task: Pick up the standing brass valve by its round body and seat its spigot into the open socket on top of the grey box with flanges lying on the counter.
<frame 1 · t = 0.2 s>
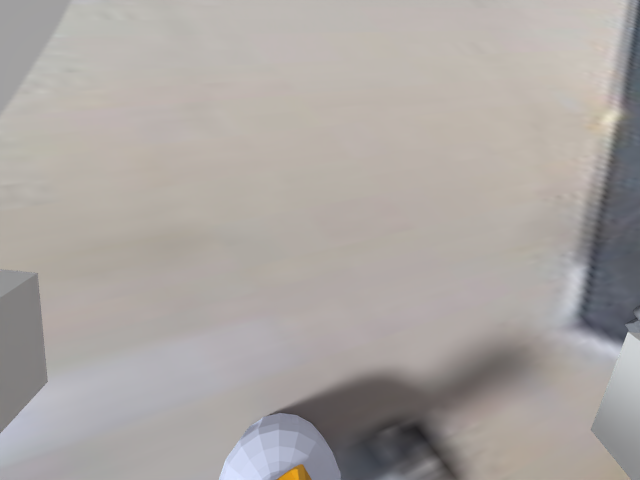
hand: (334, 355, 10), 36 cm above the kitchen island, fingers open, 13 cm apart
soap bottle: (281, 464, 42), on the kitchen island
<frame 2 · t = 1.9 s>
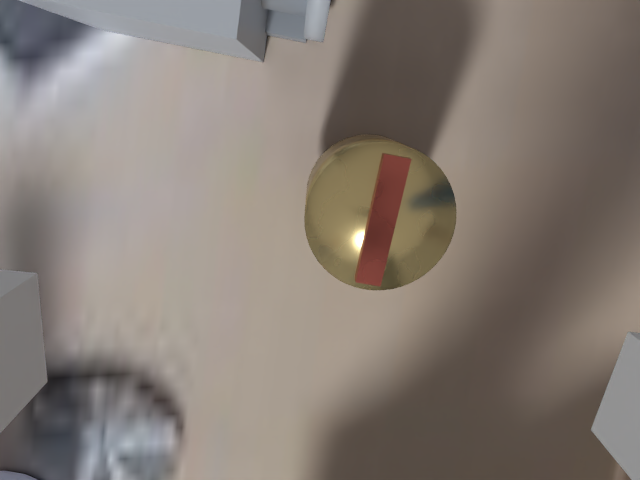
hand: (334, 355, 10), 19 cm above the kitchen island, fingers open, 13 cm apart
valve: (361, 187, 29), on the kitchen island
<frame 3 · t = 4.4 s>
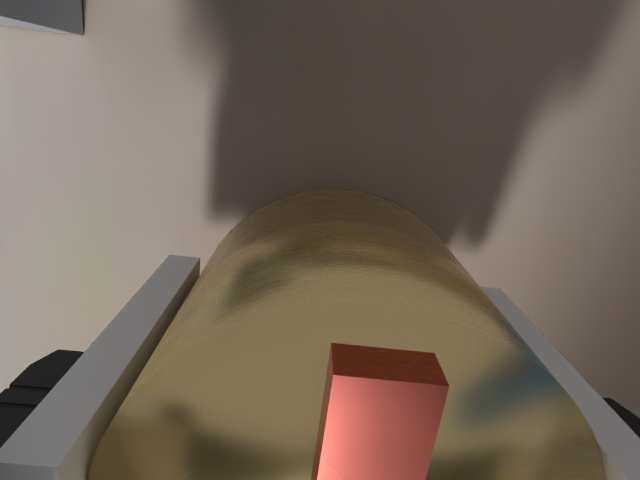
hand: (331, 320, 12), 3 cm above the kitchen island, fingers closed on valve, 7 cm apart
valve: (328, 280, 14), on the kitchen island, touching gripper
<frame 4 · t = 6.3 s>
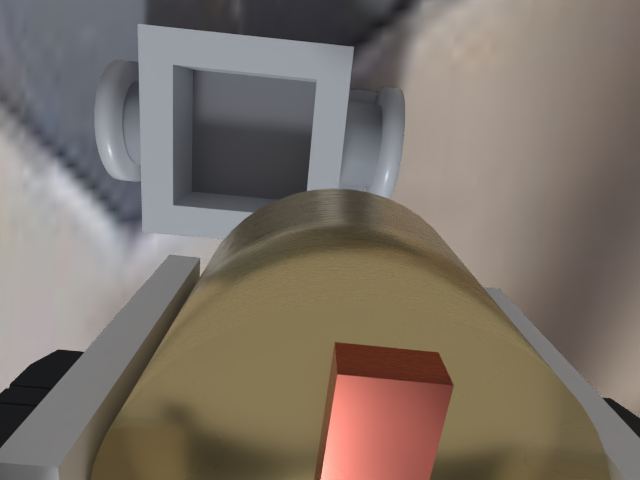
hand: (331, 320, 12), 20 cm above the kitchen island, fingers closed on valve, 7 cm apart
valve: (329, 280, 14), point 18 cm above the kitchen island, touching gripper
grey box with flanges: (264, 131, 30), on the kitchen island
when the fingers open (10 cm above the kitchen island, at t = 8.3 s): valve stays where it is, resting on grey box with flanges.
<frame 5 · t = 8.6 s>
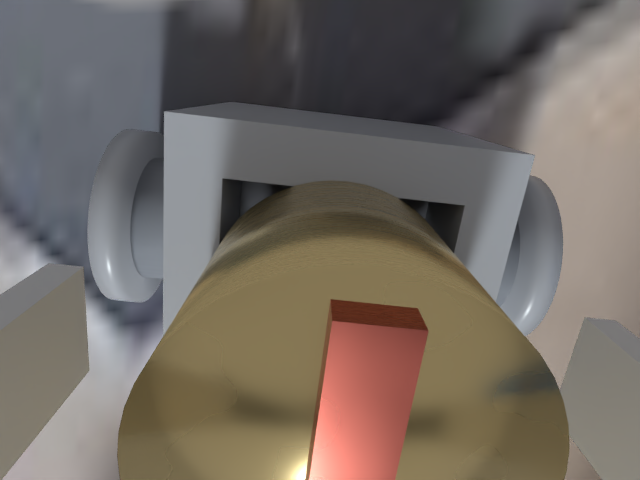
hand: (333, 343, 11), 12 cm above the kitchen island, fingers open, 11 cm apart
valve: (328, 268, 15), point 7 cm above the kitchen island, touching grey box with flanges
grey box with flanges: (323, 213, 22), on the kitchen island
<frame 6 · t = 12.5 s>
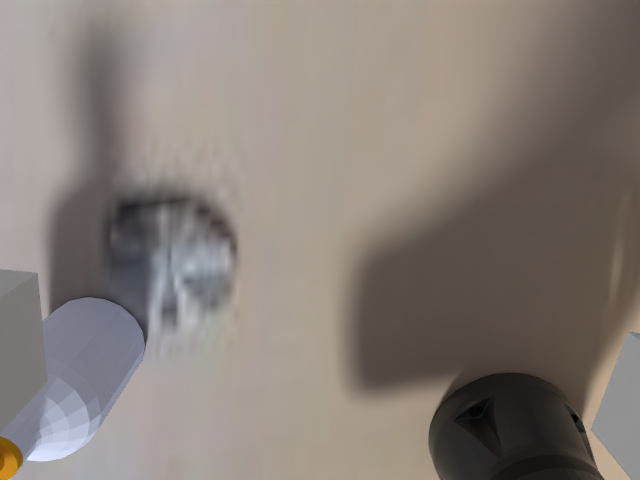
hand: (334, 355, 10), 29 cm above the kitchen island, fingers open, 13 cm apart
soap bottle: (99, 337, 43), on the kitchen island
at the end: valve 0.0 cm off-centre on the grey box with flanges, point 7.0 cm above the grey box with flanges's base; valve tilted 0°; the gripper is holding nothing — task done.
